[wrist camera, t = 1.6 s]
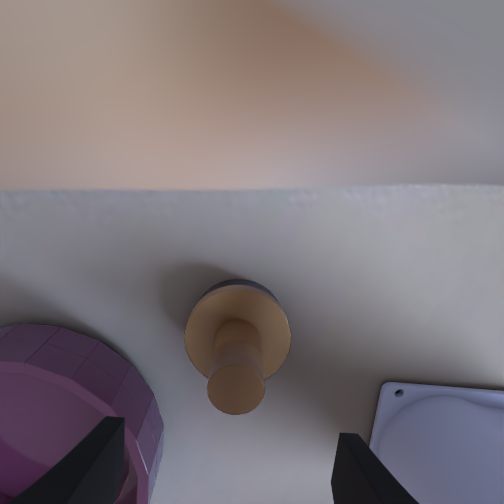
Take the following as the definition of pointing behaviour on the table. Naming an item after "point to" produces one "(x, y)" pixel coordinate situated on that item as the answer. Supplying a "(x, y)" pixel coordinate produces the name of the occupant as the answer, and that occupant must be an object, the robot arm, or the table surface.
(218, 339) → the pot brush
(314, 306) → the table surface
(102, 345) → the bowl
